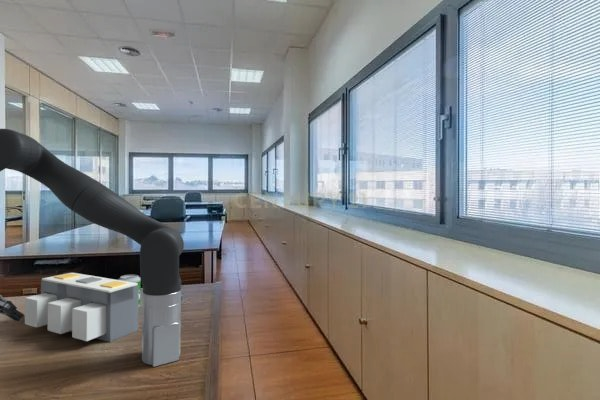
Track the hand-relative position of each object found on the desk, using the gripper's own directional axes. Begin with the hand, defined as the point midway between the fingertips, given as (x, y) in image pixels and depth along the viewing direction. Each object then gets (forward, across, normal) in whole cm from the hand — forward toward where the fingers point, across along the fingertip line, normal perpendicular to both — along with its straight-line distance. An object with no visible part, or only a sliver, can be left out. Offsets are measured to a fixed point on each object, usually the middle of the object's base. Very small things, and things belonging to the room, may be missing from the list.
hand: (20, 317), depth 99 cm
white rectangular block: (+7, 0, -3) cm, 8 cm away
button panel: (+12, -11, -5) cm, 17 cm away
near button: (+7, -22, -3) cm, 23 cm away
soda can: (+25, -8, -17) cm, 32 cm away
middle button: (+7, -11, -3) cm, 14 cm away
